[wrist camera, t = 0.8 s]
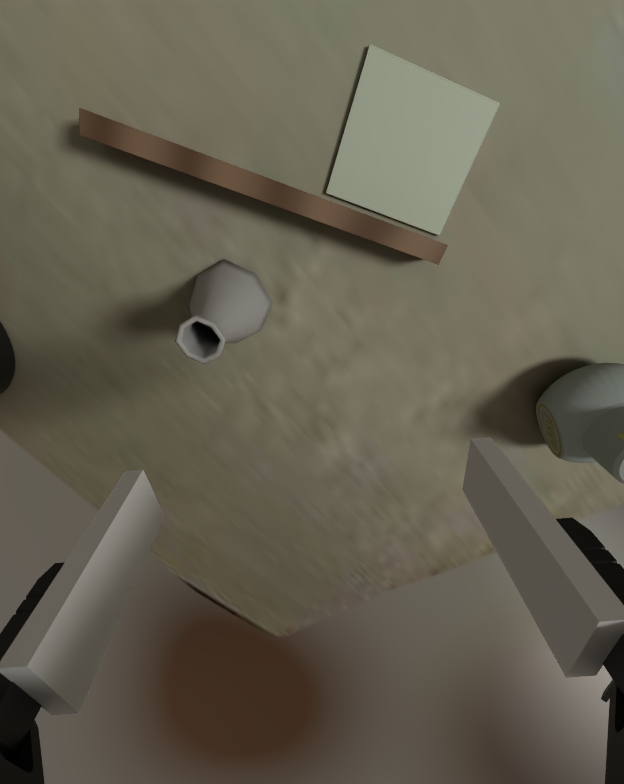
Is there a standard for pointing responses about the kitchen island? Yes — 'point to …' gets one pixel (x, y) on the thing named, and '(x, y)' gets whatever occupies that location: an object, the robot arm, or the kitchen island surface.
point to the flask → (222, 311)
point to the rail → (256, 186)
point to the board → (408, 141)
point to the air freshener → (586, 416)
